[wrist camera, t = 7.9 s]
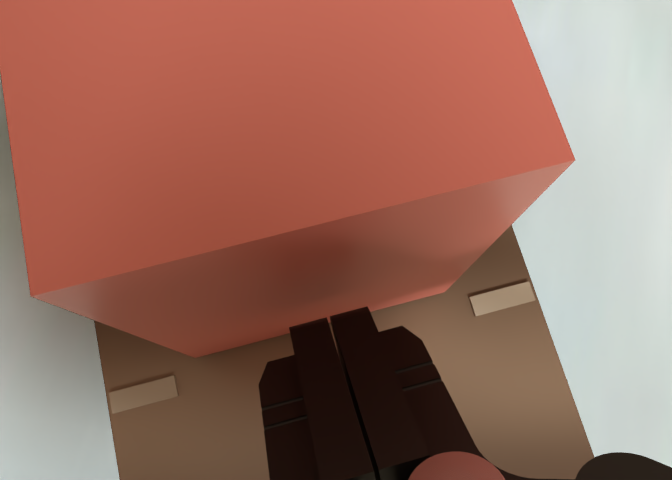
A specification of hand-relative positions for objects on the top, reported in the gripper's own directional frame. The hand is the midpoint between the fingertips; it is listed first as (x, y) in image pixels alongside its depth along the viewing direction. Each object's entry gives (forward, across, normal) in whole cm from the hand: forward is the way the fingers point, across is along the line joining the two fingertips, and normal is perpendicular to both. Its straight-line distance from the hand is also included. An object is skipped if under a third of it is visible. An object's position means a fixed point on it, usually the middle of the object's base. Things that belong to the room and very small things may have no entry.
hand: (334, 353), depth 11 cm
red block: (+5, 0, 0) cm, 5 cm away
